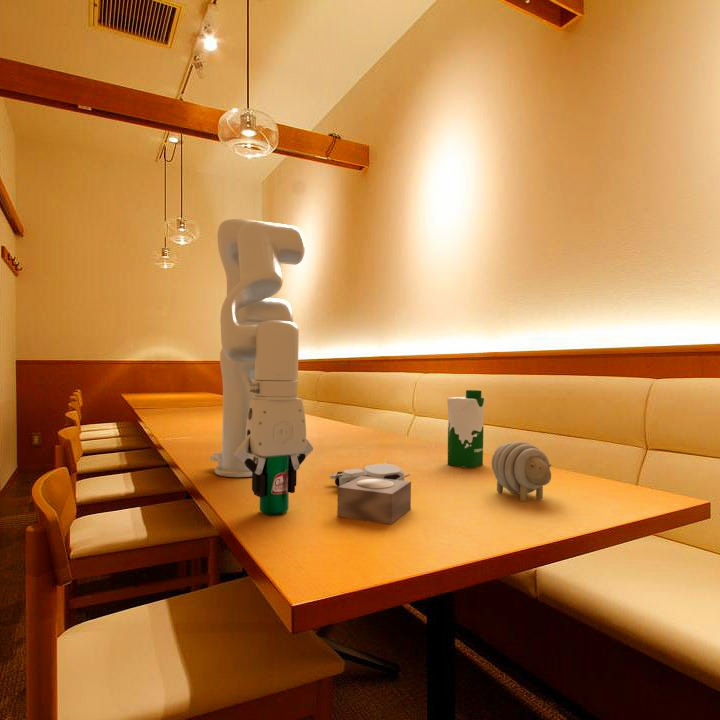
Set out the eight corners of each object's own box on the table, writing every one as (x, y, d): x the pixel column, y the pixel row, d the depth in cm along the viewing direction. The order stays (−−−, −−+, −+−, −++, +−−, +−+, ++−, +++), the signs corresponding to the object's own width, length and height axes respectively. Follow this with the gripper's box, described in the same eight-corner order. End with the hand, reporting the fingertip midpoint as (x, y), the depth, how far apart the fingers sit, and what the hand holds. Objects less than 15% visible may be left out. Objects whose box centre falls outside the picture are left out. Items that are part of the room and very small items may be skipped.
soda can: (275, 518, 85) (276, 447, 85) (253, 513, 88) (254, 444, 88) (294, 511, 89) (295, 443, 90) (272, 506, 92) (274, 441, 92)
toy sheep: (527, 508, 94) (528, 449, 94) (471, 488, 109) (472, 436, 109) (569, 503, 98) (570, 446, 98) (509, 484, 113) (510, 434, 114)
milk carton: (474, 469, 129) (475, 391, 129) (442, 464, 134) (443, 390, 134) (487, 464, 136) (488, 390, 136) (456, 460, 141) (457, 389, 141)
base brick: (337, 515, 87) (337, 485, 87) (360, 502, 96) (361, 474, 96) (391, 524, 83) (392, 492, 83) (410, 508, 92) (411, 480, 92)
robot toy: (344, 503, 99) (413, 492, 104) (343, 480, 99) (412, 470, 104) (327, 488, 111) (390, 479, 116) (326, 467, 111) (389, 459, 116)
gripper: (238, 392, 81) (235, 505, 81) (328, 391, 91) (326, 491, 91) (221, 390, 87) (219, 495, 87) (308, 389, 97) (306, 483, 97)
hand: (274, 492), depth 89 cm, fingers closed on soda can, 5 cm apart
